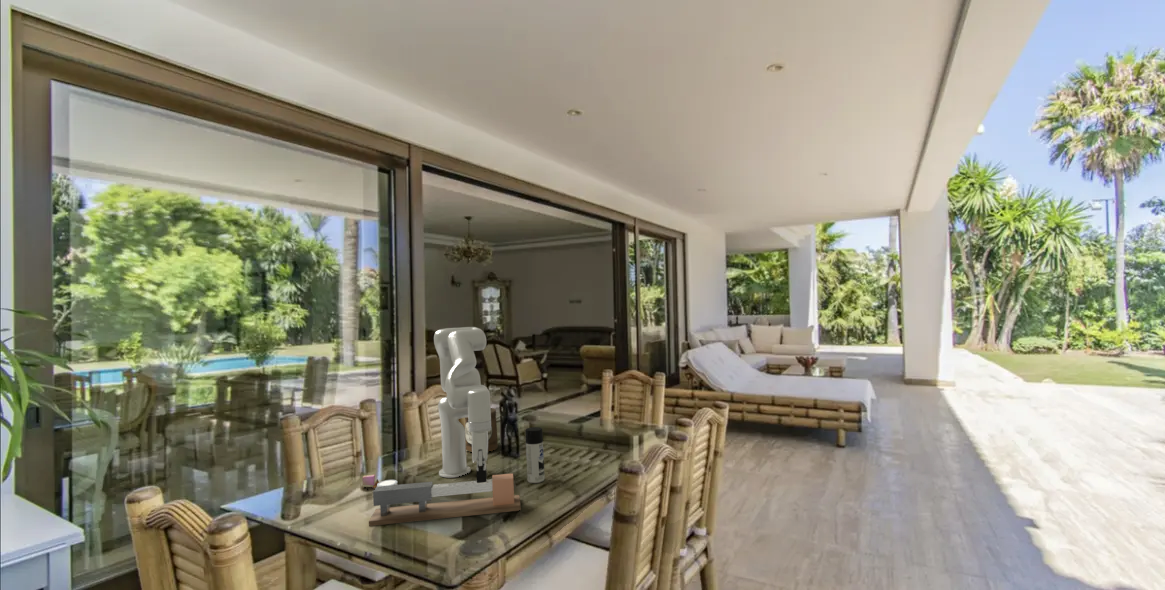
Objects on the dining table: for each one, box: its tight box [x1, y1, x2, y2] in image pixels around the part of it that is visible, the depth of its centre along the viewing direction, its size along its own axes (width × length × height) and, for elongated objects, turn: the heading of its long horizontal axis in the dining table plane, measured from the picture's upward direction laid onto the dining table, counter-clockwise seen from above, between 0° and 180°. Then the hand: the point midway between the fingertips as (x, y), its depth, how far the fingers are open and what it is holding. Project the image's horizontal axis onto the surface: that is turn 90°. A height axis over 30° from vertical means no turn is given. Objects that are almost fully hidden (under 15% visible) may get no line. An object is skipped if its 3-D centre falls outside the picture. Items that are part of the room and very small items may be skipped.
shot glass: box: [377, 479, 398, 506], centre depth 183 cm, size 7×7×7 cm
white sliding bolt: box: [431, 461, 493, 498], centre depth 174 cm, size 4×27×9 cm, turn 99°
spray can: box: [524, 426, 546, 484], centre depth 200 cm, size 7×7×20 cm
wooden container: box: [464, 407, 499, 453], centre depth 245 cm, size 15×15×22 cm
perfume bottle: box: [361, 474, 380, 490], centre depth 200 cm, size 12×12×4 cm
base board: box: [368, 494, 522, 527], centre depth 173 cm, size 10×48×2 cm, turn 99°
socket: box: [491, 472, 515, 506], centre depth 176 cm, size 5×7×8 cm
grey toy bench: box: [372, 481, 433, 516], centre depth 171 cm, size 5×18×8 cm, turn 99°
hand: (481, 479), depth 175 cm, fingers closed on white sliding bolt, 4 cm apart
